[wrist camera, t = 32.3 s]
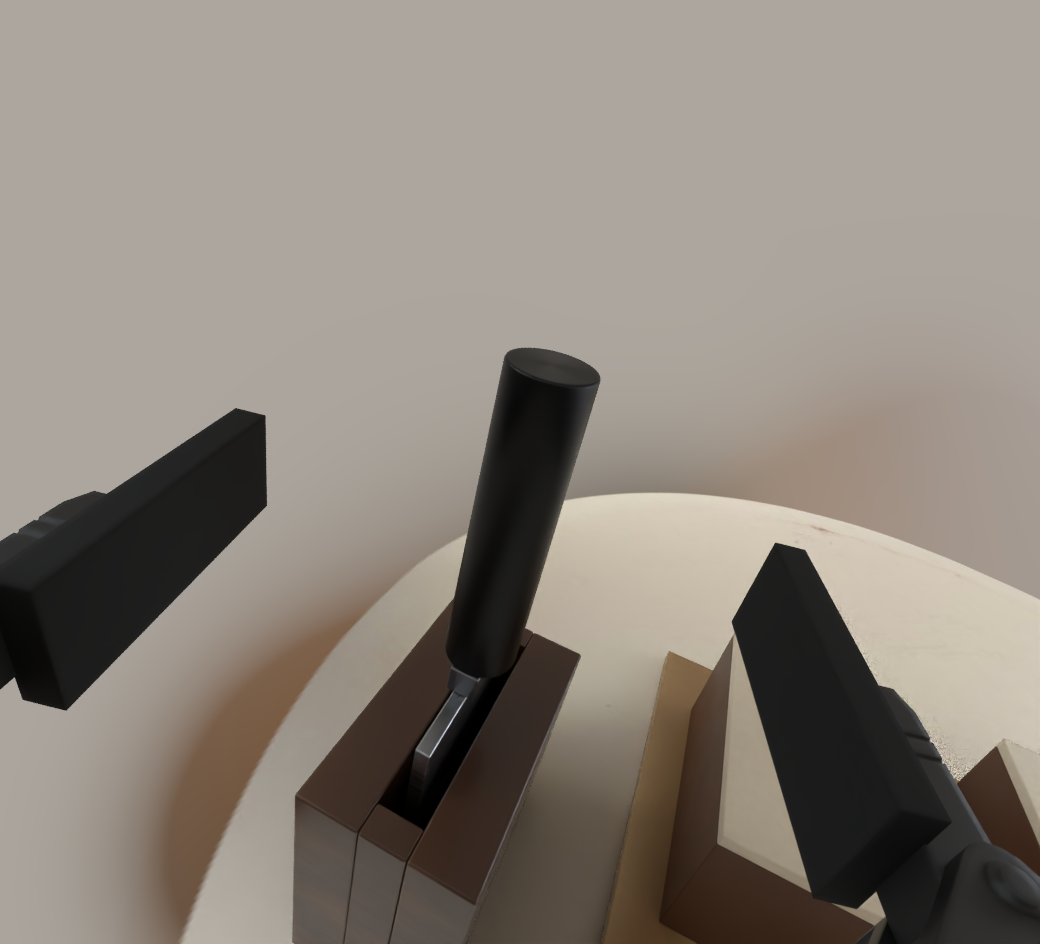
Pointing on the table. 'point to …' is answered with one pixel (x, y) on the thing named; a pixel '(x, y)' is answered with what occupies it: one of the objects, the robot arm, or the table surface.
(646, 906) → the cake board
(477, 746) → the knife block
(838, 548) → the table surface
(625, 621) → the table surface
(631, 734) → the table surface
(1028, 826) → the cake slice
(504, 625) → the knife
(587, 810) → the table surface
